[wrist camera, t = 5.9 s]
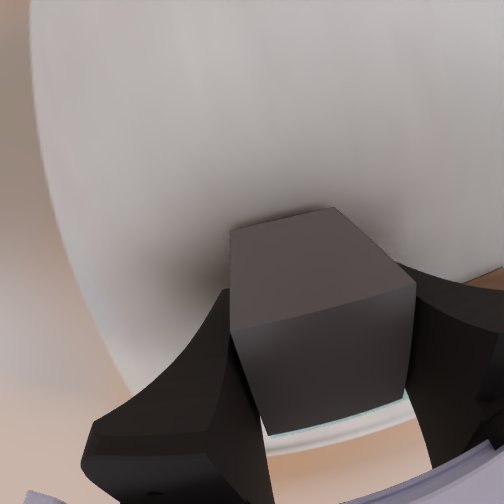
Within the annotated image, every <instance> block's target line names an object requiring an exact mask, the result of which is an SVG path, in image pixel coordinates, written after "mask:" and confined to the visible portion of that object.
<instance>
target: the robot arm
mask: <svg viewBox="0 0 504 504" xmlns="http://www.w3.org/2000/svg"><path fill="white" fill-rule="evenodd" d="M396 263H397V262H396ZM397 264H398V265H399V266H400V267H401V268H402V269H403V270H404V271H405V272H406V273H407V274H408V275H409V276H410V277H411V278H412V279H413V280H414V281H415V282H416V299H415V312H414V324H413V333H412V342H411V350H410V358H409V365H408V371H407V377H406V383H405V390H406V392H407V394H408V397H409V399H410V401H411V404H412V406H413V409H414V412H415V414H416V417H417V419H418V422H419V425H420V428H421V431H422V434H423V437H424V440H425V443H426V446H427V450H428V454H429V457H430V461H431V465H432V470H430V471H428V472H426V473H424V474H421V475H419V476H417V477H415V478H412V479H410V480H408V481H405V482H403V483H400V484H398V485H395V486H393V487H390V488H387V489H384V490H382V491H379V492H376V493H373V494H370V495H367V496H364V497H361V498H357V499H354V500H351V501H348V502H344V503H340V504H504V290H496V289H488V288H481V287H475V286H470V285H465V284H461V283H456V282H452V281H448V280H445V279H441V278H438V277H435V276H432V275H429V274H426V273H423V272H421V271H418V270H415V269H413V268H410V267H407V266H405V265H402V264H400V263H397ZM81 469H82V470H83V472H84V474H85V475H86V476H87V478H88V479H89V480H91V481H92V482H93V483H94V484H95V485H97V486H98V487H99V488H101V489H102V490H104V491H105V492H106V493H108V494H109V495H110V496H112V497H113V498H115V499H116V500H118V501H119V502H120V504H275V502H274V497H273V492H272V487H271V481H270V476H269V470H268V465H267V459H266V453H265V447H264V440H263V434H262V427H261V421H260V414H259V411H258V408H257V406H256V403H255V400H254V398H253V395H252V392H251V389H250V387H249V384H248V381H247V378H246V376H245V373H244V370H243V367H242V364H241V362H240V359H239V356H238V353H237V350H236V347H235V344H234V342H233V339H232V336H231V333H230V288H228V289H224V290H222V291H221V293H220V294H219V296H218V298H217V300H216V302H215V303H214V305H213V307H212V309H211V311H210V312H209V314H208V316H207V317H206V319H205V321H204V322H203V324H202V325H201V327H200V329H199V330H198V331H197V333H196V334H195V336H194V337H193V339H192V340H191V341H190V343H189V344H188V345H187V347H186V348H185V349H184V350H183V351H182V353H181V354H180V355H179V356H178V357H177V358H176V359H175V360H174V362H173V363H172V364H171V365H170V366H169V367H168V368H167V369H166V370H164V371H163V372H162V373H161V374H160V375H159V376H158V377H157V378H156V379H155V380H154V381H153V382H152V383H150V384H149V385H148V386H147V387H146V388H144V389H143V390H142V391H141V392H139V393H138V394H137V395H135V396H134V397H132V398H131V399H130V400H128V401H127V402H126V403H124V404H123V405H121V406H119V407H118V408H116V409H114V410H113V411H111V412H110V413H108V414H106V415H104V416H103V417H102V418H100V419H98V420H96V421H94V422H93V424H92V427H91V430H90V433H89V436H88V440H87V443H86V446H85V449H84V453H83V456H82V460H81ZM24 504H66V503H65V502H63V501H61V500H59V499H57V498H54V497H51V496H48V495H44V494H41V493H37V492H34V491H31V490H29V491H27V494H26V497H25V501H24Z"/></svg>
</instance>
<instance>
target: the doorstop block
mask: <svg viewBox="0 0 504 504" xmlns="http://www.w3.org/2000/svg"><path fill="white" fill-rule="evenodd" d="M415 299H416V282H415V281H414V280H413V279H412V278H411V277H410V276H409V275H408V274H407V273H406V272H405V271H404V270H403V269H402V268H401V267H400V266H399V265H398V264H397V263H396V262H395V261H393V260H392V259H391V258H390V257H389V256H388V255H387V254H386V253H385V252H384V251H383V250H382V249H381V248H380V247H379V246H378V245H376V244H375V243H374V242H373V241H372V240H371V239H370V238H369V237H368V236H367V235H365V234H364V233H363V232H362V231H361V230H360V229H359V228H358V227H357V226H355V225H354V224H353V223H352V222H351V221H350V220H349V219H347V218H346V217H345V216H344V215H343V214H342V213H341V212H339V211H338V210H337V209H336V208H335V207H332V208H328V209H323V210H318V211H314V212H309V213H305V214H300V215H296V216H292V217H287V218H283V219H278V220H274V221H270V222H265V223H261V224H257V225H253V226H248V227H244V228H240V229H236V230H231V231H230V333H231V336H232V339H233V342H234V344H235V347H236V350H237V353H238V356H239V359H240V362H241V364H242V367H243V370H244V373H245V376H246V378H247V381H248V384H249V387H250V389H251V392H252V395H253V398H254V400H255V403H256V406H257V408H258V411H259V414H260V416H261V419H262V421H263V424H264V427H265V429H266V432H267V434H268V436H271V435H276V434H281V433H286V432H291V431H296V430H300V429H304V428H309V427H313V426H317V425H321V424H325V423H328V422H332V421H336V420H339V419H343V418H346V417H350V416H353V415H356V414H359V413H363V412H366V411H369V410H372V409H375V408H378V407H381V406H384V405H386V404H389V403H392V402H395V401H397V400H400V399H403V394H404V389H405V383H406V377H407V371H408V365H409V358H410V350H411V342H412V333H413V324H414V312H415Z"/></svg>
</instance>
